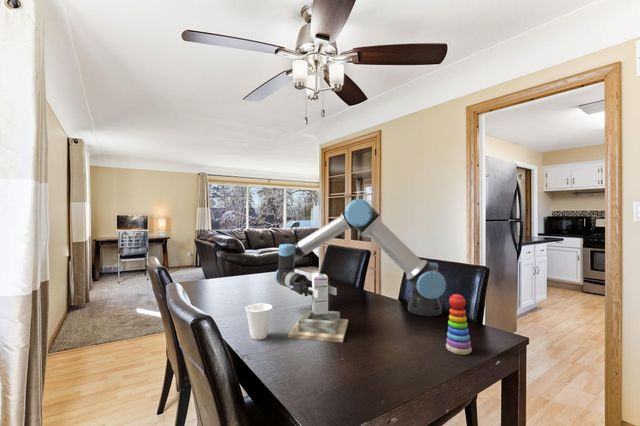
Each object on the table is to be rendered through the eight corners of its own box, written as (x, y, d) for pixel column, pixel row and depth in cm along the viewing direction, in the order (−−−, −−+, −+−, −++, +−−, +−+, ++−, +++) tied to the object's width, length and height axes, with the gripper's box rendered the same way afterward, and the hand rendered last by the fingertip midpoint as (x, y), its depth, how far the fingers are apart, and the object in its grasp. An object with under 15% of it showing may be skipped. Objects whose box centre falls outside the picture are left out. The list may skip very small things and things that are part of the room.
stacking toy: (466, 345, 108) (466, 292, 108) (475, 356, 100) (475, 298, 100) (442, 344, 109) (443, 291, 109) (450, 355, 101) (450, 297, 101)
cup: (277, 333, 119) (277, 304, 119) (264, 344, 109) (264, 312, 109) (254, 330, 122) (254, 302, 122) (239, 340, 112) (240, 309, 113)
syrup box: (328, 314, 120) (328, 276, 120) (313, 314, 119) (313, 276, 119) (325, 309, 126) (326, 273, 126) (311, 310, 125) (311, 273, 125)
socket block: (347, 322, 131) (347, 309, 131) (342, 342, 111) (342, 326, 111) (301, 319, 134) (301, 307, 134) (288, 338, 115) (288, 323, 115)
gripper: (315, 287, 143) (347, 299, 124) (275, 293, 132) (304, 307, 113) (316, 271, 143) (348, 280, 124) (276, 275, 132) (304, 286, 113)
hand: (327, 293), depth 119 cm, fingers closed on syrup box, 7 cm apart
